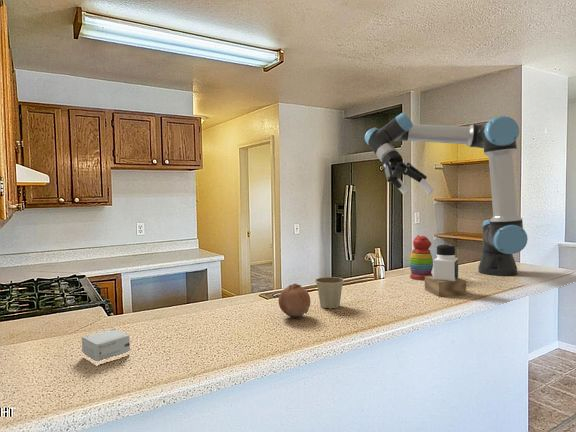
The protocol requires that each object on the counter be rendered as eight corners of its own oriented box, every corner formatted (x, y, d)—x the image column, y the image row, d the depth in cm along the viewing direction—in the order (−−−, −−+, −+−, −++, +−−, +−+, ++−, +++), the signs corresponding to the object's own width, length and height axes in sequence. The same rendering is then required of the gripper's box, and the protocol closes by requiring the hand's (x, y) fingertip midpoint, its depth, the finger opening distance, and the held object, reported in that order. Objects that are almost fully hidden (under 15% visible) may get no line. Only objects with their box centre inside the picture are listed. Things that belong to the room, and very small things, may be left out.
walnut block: (450, 288, 150) (450, 275, 150) (465, 294, 141) (465, 280, 140) (424, 290, 149) (424, 276, 149) (438, 296, 139) (438, 282, 139)
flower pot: (350, 305, 131) (350, 279, 130) (333, 312, 124) (332, 284, 123) (327, 301, 137) (327, 275, 137) (309, 307, 130) (308, 280, 130)
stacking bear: (438, 280, 165) (438, 236, 164) (413, 280, 165) (413, 237, 164) (430, 275, 175) (429, 234, 174) (406, 275, 176) (406, 234, 175)
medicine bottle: (455, 281, 139) (455, 246, 138) (433, 279, 143) (433, 245, 142) (458, 277, 145) (458, 244, 145) (437, 276, 149) (437, 243, 148)
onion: (294, 311, 126) (294, 279, 126) (317, 316, 120) (316, 283, 119) (272, 318, 120) (271, 284, 119) (295, 324, 113) (294, 289, 112)
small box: (96, 367, 88) (95, 344, 88) (81, 358, 93) (80, 336, 93) (131, 356, 94) (130, 334, 93) (115, 348, 99) (114, 327, 99)
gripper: (405, 164, 176) (434, 198, 164) (362, 163, 163) (390, 200, 151) (415, 150, 171) (446, 185, 159) (371, 148, 158) (400, 185, 146)
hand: (418, 192), depth 155 cm, fingers open, 13 cm apart
